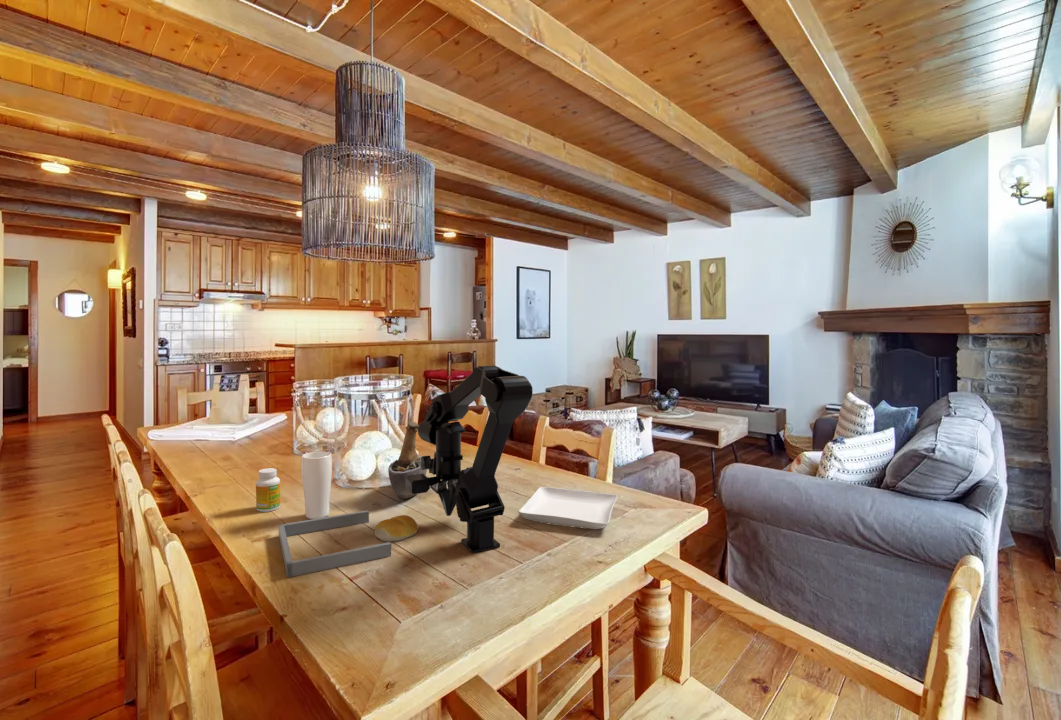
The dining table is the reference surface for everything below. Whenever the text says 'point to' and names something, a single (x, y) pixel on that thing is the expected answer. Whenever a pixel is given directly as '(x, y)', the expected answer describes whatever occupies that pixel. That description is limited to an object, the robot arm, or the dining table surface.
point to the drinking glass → (316, 483)
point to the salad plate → (569, 507)
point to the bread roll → (396, 528)
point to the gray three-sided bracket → (334, 558)
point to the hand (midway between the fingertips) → (448, 515)
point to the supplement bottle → (267, 490)
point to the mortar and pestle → (406, 463)
